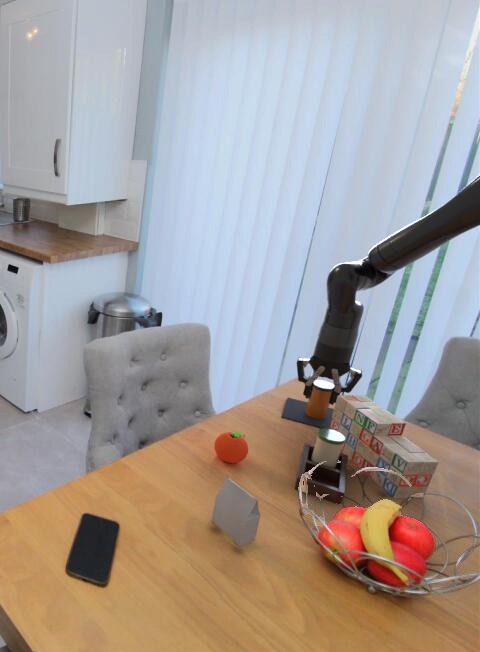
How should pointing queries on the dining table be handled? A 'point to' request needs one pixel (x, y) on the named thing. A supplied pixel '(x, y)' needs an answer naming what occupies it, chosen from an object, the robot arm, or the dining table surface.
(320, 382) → the amber jar
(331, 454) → the beige jar
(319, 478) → the rack
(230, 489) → the grey paper bag
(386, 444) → the stack of blocks
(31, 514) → the dining table surface
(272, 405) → the dining table surface
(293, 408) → the mat
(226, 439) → the red tomato
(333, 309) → the robot arm
